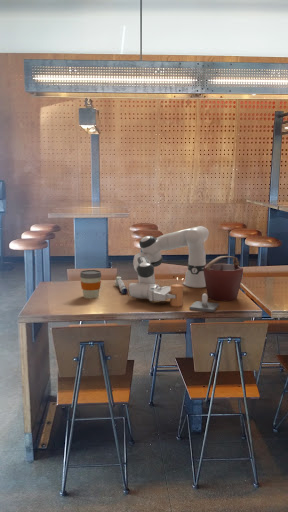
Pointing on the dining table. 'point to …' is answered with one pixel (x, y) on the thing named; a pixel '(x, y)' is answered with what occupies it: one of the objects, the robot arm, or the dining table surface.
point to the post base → (202, 308)
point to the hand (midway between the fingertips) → (178, 294)
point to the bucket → (223, 279)
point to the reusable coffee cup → (90, 283)
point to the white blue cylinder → (121, 285)
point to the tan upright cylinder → (178, 292)
